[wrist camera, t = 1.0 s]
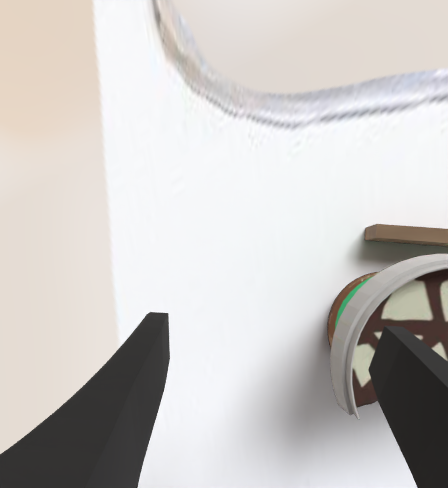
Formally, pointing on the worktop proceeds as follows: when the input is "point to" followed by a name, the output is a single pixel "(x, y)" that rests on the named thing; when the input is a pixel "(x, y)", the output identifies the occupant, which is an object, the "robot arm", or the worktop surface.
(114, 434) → the robot arm
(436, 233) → the rail frame
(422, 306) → the food container
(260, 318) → the worktop surface
